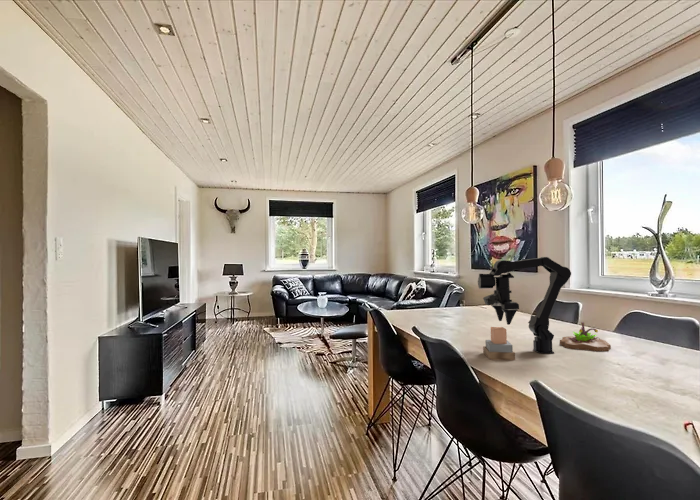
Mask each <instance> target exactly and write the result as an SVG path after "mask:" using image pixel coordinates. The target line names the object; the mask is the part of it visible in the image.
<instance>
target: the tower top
mask: <svg viewBox="0 0 700 500" xmlns="http://www.w3.org/2000/svg"><path fill="white" fill-rule="evenodd" d="M484 341H485V343H484V344H485V346H486V348H487V349H488V350H489V352H511V353H513V352H514V349H513V347H514V346H513V344H512V343H511V342H510V341H508V340H507V344H494V343H493V342H492V341H491V339H485V340H484Z"/></svg>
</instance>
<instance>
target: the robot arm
mask: <svg viewBox="0 0 700 500" xmlns="http://www.w3.org/2000/svg"><path fill="white" fill-rule="evenodd" d="M536 267H543V269H545V270H546V271H547V272H548V273H550V274H549V286H548V287H547V290H546V292H545V295H544V297H543V299H542V302H541V305H540V307H539V309H538V312H537V313H536V314H535V315H533V314H531V315H530V319H529V321H528V322H527V324H528V328H529V331H530V332H531V333H532V334H533V336H534V340H533V348H532V350H533V351H535V352H536V353H538V354H555V352H554V351H553V340H554V337H555V335H554V333H552V332H551V331H550V330H549V327H550V316H551V313H552V311H553V308H554V306H555V303H556V301H557V298H558V296H559V295H560V291H561V289H562V287H563V286H565V284H567V282H568V281H569V280H570V278H571V276H572V272H571V270H570V268H569V267H566V266H562V265H561V264H559V263H558V262H556V261H554V260H552V259H551V258H550V257H548V256H541V257H537V258H529V259H528V258H527V259H521V260H496V261H495V262H494V264H493V267H492V270H491V271H490V272H489V273H478V279H477V286H478V289H479V290H480V289H482V290H483V289H493V288H494V287H495V289H494V290H493V293H492V294H489V295H485V296H484V297H483V298H482V299H483V302H484V304H485V305H487V306H491V307H492V308H493V309H494V311H495V313H496V316H497V319H498V321H499V322H502V321H503V317H505V321H506V324H507V325H508V326H510V325H511V323H512V320H513V318H514V316H515V315H516V313H517V311H518V310H519V309H520V304H519V303H518V302H516V301H513V299H511V294H512V290H511V289H510V279H514V278H515V275H513V274H512V273H511V272H514V271H516V270H519V269H527V268H528V269H529V268H536ZM504 315H505V316H504Z"/></svg>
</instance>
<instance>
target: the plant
mask: <svg viewBox="0 0 700 500" xmlns="http://www.w3.org/2000/svg"><path fill="white" fill-rule="evenodd" d="M580 323H581V324H580V325H581V328H580V329H579V330H578V332H576V331H572V333H573V335H574V336H572V335H570V336H563V337H562V338H561V339H559V345H560V346H561V345H562V346H561V347H564V348H567V349H572V350H582V351H583V350H585V351H592V352H609V351H610V350H611V348H612V347H611V344H610V343H608V341H607V340H604V339H602V338H600V337H598V336H597V334H592V333H591V332H590V331H592V330H593V331H594V333H598V332H599V331H598V329H597V328H594V327H593V328H592V327H591V328H588V329H587V330H586V329H585V322H584V321H581V322H580Z"/></svg>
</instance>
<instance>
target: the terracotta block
mask: <svg viewBox="0 0 700 500" xmlns="http://www.w3.org/2000/svg"><path fill="white" fill-rule="evenodd" d="M490 340H491V341H492V342H493V343H494V344H507V341H508V338H507V329H506V328H505V327H503V326H491V327H490Z"/></svg>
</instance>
